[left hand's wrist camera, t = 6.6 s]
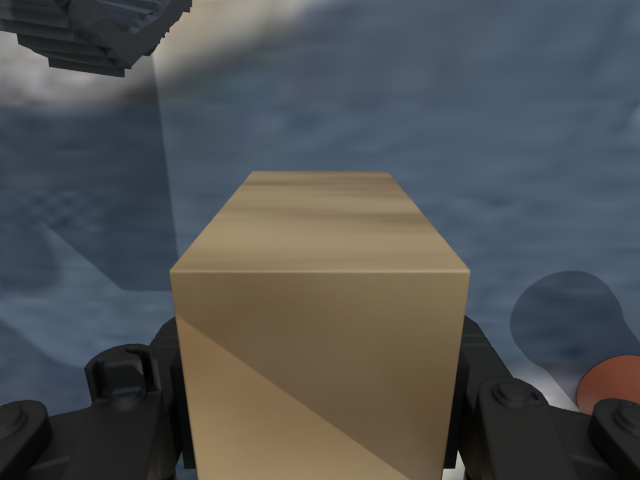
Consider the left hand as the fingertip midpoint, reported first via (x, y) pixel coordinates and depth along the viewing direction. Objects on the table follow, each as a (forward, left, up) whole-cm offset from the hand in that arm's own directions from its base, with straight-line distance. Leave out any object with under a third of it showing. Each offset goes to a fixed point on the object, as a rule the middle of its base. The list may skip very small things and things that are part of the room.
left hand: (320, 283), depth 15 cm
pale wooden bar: (0, +9, 0) cm, 9 cm away
